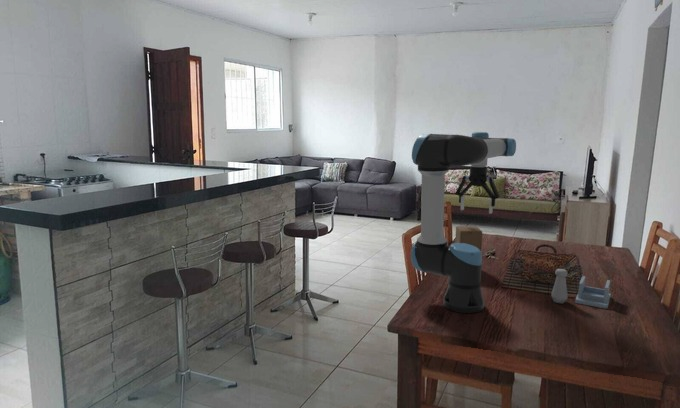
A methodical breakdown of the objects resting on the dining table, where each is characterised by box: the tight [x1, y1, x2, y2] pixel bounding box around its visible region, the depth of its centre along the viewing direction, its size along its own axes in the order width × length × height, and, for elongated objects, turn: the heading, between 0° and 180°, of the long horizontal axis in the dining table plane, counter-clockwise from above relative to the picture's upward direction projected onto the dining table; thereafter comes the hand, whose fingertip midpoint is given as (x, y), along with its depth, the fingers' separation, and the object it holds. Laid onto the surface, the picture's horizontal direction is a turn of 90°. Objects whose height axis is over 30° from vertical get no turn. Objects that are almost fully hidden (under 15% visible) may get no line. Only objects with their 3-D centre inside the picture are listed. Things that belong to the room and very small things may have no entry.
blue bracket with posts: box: [574, 275, 612, 310], centre depth 190 cm, size 14×11×8 cm
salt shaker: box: [550, 268, 569, 305], centre depth 188 cm, size 6×6×13 cm
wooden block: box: [454, 225, 483, 252], centre depth 226 cm, size 10×10×20 cm
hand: (476, 211), depth 226 cm, fingers open, 13 cm apart
